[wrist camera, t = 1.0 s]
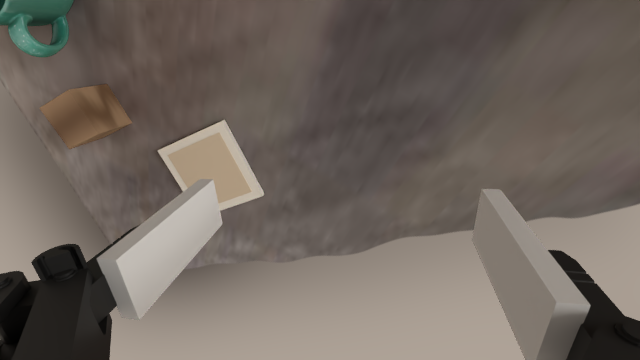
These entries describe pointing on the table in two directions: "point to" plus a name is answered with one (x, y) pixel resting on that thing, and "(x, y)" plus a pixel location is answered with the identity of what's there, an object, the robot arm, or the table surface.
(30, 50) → the mug
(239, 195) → the coaster
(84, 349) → the robot arm
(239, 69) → the table surface
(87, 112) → the walnut cube
